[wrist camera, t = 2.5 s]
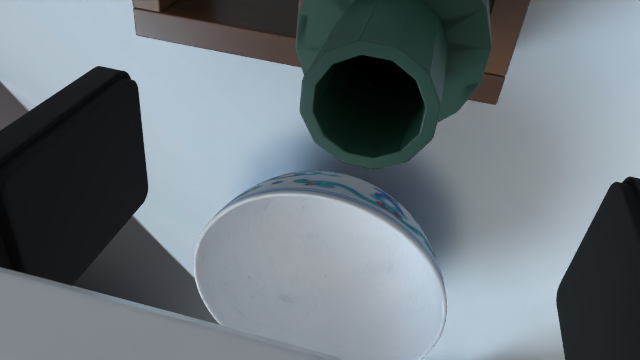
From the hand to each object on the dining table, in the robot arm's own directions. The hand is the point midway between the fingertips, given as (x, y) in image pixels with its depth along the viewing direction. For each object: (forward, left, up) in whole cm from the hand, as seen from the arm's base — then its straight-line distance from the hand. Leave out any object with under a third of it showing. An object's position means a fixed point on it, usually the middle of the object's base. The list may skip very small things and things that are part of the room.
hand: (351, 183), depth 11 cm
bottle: (0, 0, -20) cm, 20 cm away
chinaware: (+18, -2, -20) cm, 27 cm away
